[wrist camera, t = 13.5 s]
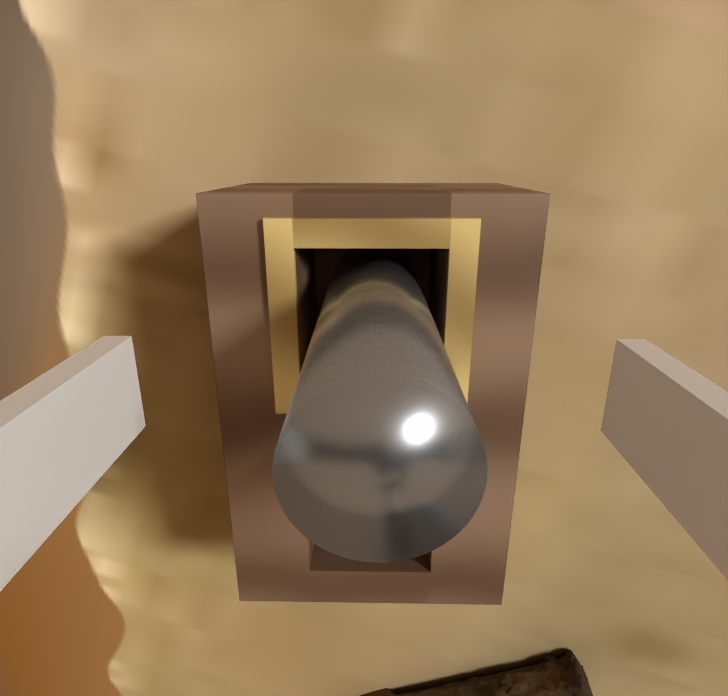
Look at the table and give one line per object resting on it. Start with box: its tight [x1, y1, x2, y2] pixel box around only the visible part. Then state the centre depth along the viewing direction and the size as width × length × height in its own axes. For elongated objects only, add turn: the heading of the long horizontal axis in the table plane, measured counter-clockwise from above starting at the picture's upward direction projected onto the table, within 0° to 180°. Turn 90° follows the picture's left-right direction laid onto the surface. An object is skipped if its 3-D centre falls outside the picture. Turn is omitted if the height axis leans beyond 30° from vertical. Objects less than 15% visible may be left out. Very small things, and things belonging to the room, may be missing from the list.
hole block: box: [196, 183, 550, 605], centre depth 24 cm, size 18×12×8 cm, turn 0°
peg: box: [272, 248, 488, 563], centre depth 17 cm, size 4×4×16 cm
